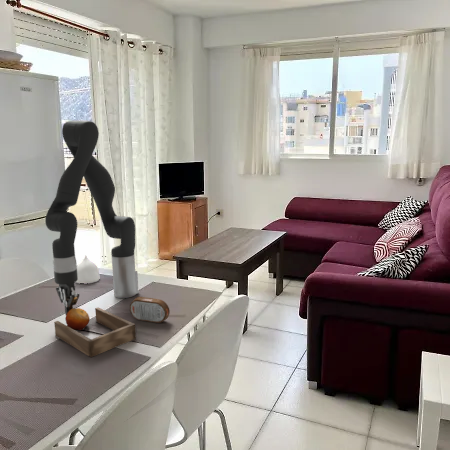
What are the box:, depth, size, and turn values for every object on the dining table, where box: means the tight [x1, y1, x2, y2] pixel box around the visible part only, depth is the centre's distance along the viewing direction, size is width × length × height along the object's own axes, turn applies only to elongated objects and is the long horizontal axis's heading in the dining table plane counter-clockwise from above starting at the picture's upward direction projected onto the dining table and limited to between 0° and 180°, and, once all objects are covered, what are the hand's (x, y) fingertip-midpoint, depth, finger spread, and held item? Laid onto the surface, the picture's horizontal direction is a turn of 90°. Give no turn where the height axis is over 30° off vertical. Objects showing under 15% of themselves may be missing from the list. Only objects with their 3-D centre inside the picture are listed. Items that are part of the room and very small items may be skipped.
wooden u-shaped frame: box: [54, 307, 137, 358], centre depth 142 cm, size 16×22×5 cm
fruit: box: [65, 307, 91, 331], centre depth 149 cm, size 8×8×8 cm
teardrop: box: [75, 255, 101, 285], centre depth 200 cm, size 11×11×12 cm
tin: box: [129, 296, 171, 324], centre depth 154 cm, size 15×3×8 cm, turn 71°
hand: (69, 315), depth 153 cm, fingers closed
